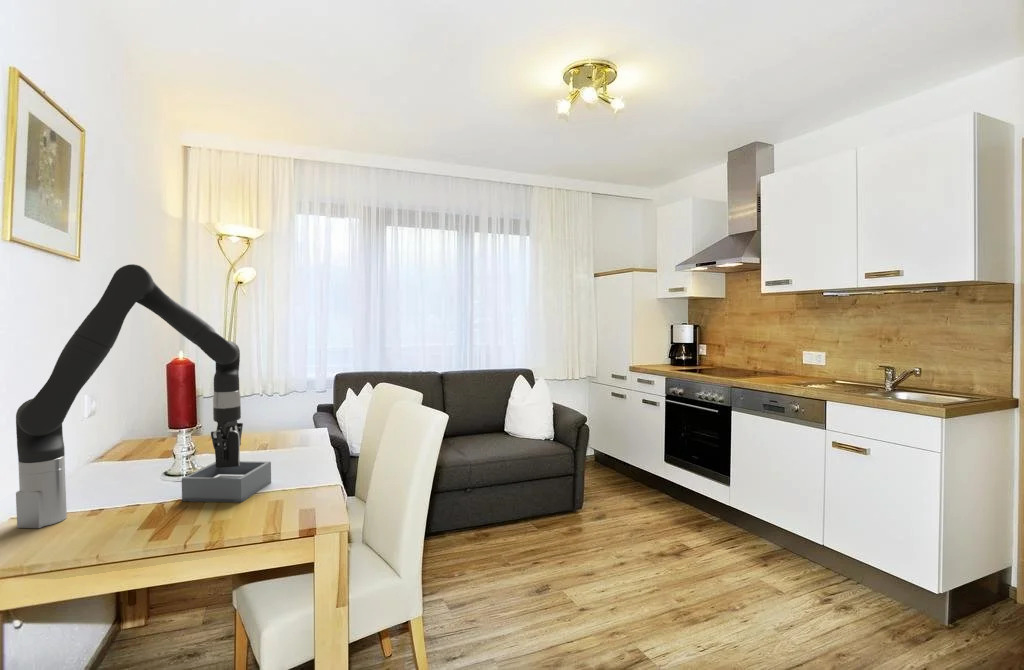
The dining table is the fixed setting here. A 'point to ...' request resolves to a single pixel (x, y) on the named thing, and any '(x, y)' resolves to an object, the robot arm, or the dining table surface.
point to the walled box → (226, 482)
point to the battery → (230, 451)
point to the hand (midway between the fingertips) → (228, 458)
